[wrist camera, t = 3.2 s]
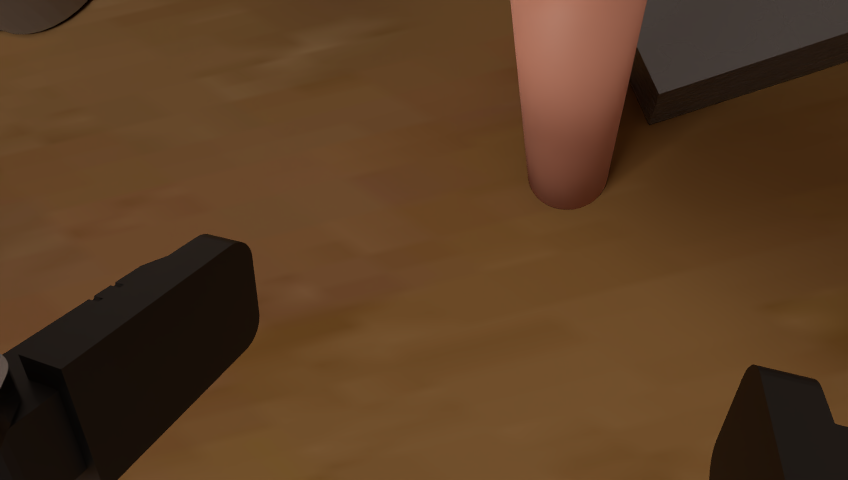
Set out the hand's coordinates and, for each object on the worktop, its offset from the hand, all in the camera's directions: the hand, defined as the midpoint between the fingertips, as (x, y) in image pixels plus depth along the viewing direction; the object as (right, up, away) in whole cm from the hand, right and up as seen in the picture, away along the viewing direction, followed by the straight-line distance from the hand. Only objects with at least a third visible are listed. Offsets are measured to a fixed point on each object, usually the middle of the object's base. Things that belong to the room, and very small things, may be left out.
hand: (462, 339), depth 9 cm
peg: (+6, +5, +16) cm, 17 cm away
